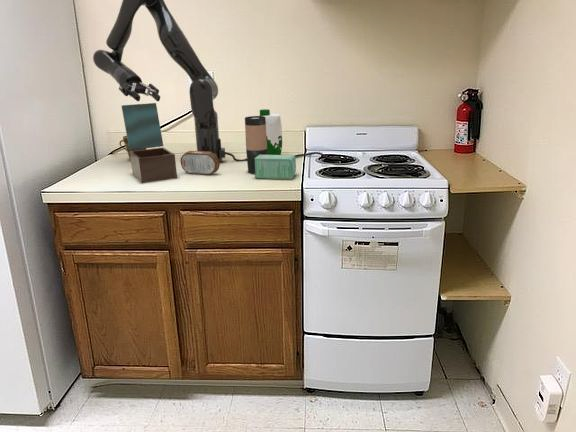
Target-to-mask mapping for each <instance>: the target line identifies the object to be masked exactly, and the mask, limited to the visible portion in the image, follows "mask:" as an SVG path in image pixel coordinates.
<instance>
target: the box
mask: <svg viewBox="0 0 576 432" xmlns="http://www.w3.org/2000/svg"><path fill="white" fill-rule="evenodd" d="M296 171H297V161H296V157H295V156H294V155H292V154H291V155H290V154H281V155H258V156H257V157H256V158H255V174H254V178H255V179H273V180H292V179H293V178H294V176H295V175H296Z"/></svg>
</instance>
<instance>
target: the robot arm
mask: <svg viewBox="0 0 576 432" xmlns="http://www.w3.org/2000/svg"><path fill="white" fill-rule="evenodd" d="M165 2H166V1H165V0H122V1H121V5H120V7H119V11H118V14H117V17H116V20H115V22H114V24H113V26H112V28H111V30H110V32H109V34H108V35H107V37H106V41H105V45H106V46H107V47H108V48H109V49H110V50H111V51H109V50H105V49H97V50H95V52H94V53H93V56H92V62H93V63H94V65H95V66H96V67H97V68H98V69H99V70H101V71H102V72H104V73H106V74H108V75H110V76H111V77H112V78H113V80H115V81H116V83H117V84H118V90H119V91H120V92H121V93H122V95H124V96H125V97H128V96H129V97H130V98H133V99H134V100H135V101H136V102H140V101H141V95H144V96H146V97H148V96H150V97H152V98H153V99H154V100H155V101H156V102H160V100H161V95H160V94H159V93H160V89H159V88H157V87H156V86H155V85H153V84H152V83H149V84H148V85H147V84H146V83H144V82H143V81H142V80H143V79H142V78H141V77H140V76H139V75H138V73H136V72H135V71H134V70H133V69H131V68H130V67H128V65H126V64H125V63H124V62H123V61H122V60H123V55H124V50H125V47H126V46H127V44H128V42H129V40H130V38H131V35H132V32H133V23H134V19H135V16H136V14H137V12H138V10H140V8H141V7H142V6H144V7H145V8H146V9H147V11H148V12H149V14H150V15H151V17H152V19H153V20H154V23H155V26H156V30H157V31H156V32H157V36H158V39H159V41H160V43H161V45H162V46H163V48H164V49H165V52H166V53H167V54H168V56H169V57H170V59H172V60H173V61H174V62H175V63H176V64H177V65H178V66H179V67H180V68H181V69H182V70H183V71H184V72H185V73H186V74H187V76H188V77H189V79H190V81H191V83H190V85H189V90H188V91H189V92H188V93H189V101H190V109H191V113H192V115H193V121H194V132H195V133H194V134H195V142H196V151H205V152H212V153H213V154H215V155H216V156H217V158H218V160H219V164H220V163H223V159H226V156H227V155H228V156H230V157H231V158H232V159H233V161H235V162H247V158H243V159H239V158H236V156H235V155H234V154H233V153H230V152H228V151H226V148H225V147H222V140H221V138H220V132H219V119H218V118H219V117H218V112H217V111H216V110H215V107H214V100H215V99H217V97H218V95H219V87H218V84H217V82H216V80H215V79H214V78H213V77H212V75H211V74H210V72H209V71H208V70H207V69H206V68H205V66H204V65H203V63H202V61H201V60H200V58H199V56H198V55H197V53H196V52H195V50H194V48H193V46H192V45H191V43H190V42H189V40H188V38H187V36H186V35H185V33H184V32H183V30H182V29H181V27H180V25H179V24H178V23H177V21H176V19H175V18H174V15H172V12H171V11H170V10H169V8H168V6H167V4H166V3H165ZM140 94H141V95H140ZM312 155H319V156H322V157H323V158H326V156H327V155H326V154H325V153H322V152H320V151H312V152H308V153H307V152H306V153H298V154H295V155H294V156H295V158H298V157H299V158H300V157H305V156H312Z"/></svg>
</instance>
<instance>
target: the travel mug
mask: <svg viewBox="0 0 576 432" xmlns="http://www.w3.org/2000/svg"><path fill="white" fill-rule="evenodd" d="M244 131H245V132H244V133H245V152H246V159H247V161H246V164H247V172H248V173H249V174H252V175H255V158H256V157H257V156H258V155H267V138H266V118H265V117H264V116H259V115H252V116H250V115H249V116H245V117H244Z"/></svg>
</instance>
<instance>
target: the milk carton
mask: <svg viewBox="0 0 576 432" xmlns="http://www.w3.org/2000/svg"><path fill="white" fill-rule="evenodd" d="M258 116H264V117H265V118H266V138H267V155H282V152H283V151H282V150H283V127H282V125H283V124H282V119H281V114H280V113H271V111H270V109H268V108H264V109H263V108H262V109H259V115H258Z"/></svg>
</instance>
